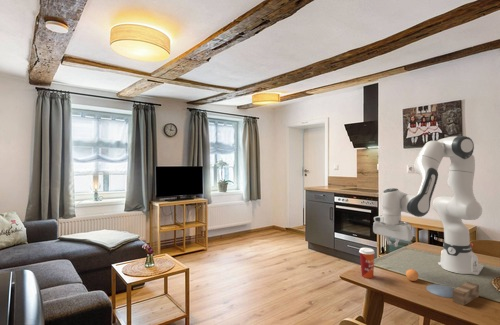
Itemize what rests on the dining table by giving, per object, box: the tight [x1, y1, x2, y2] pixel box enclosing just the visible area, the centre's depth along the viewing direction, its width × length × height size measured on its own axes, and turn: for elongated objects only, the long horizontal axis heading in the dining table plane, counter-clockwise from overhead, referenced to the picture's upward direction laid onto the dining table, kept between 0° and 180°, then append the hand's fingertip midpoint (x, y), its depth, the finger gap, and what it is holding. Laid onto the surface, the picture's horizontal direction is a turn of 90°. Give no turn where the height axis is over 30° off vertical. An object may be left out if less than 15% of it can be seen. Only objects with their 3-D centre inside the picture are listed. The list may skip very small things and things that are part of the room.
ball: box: [405, 268, 419, 282], centre depth 142 cm, size 6×6×6 cm
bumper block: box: [452, 281, 480, 306], centre depth 122 cm, size 14×4×5 cm, turn 121°
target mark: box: [425, 283, 455, 299], centre depth 130 cm, size 13×13×1 cm
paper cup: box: [358, 247, 376, 279], centre depth 148 cm, size 8×8×14 cm
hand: (392, 245), depth 150 cm, fingers open, 2 cm apart
